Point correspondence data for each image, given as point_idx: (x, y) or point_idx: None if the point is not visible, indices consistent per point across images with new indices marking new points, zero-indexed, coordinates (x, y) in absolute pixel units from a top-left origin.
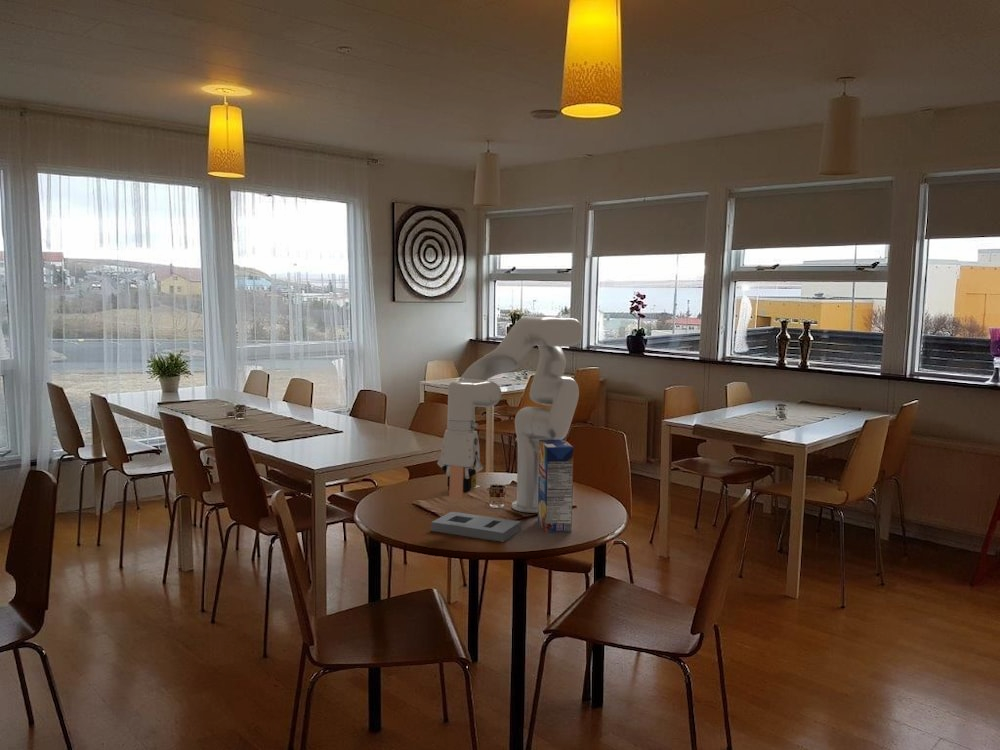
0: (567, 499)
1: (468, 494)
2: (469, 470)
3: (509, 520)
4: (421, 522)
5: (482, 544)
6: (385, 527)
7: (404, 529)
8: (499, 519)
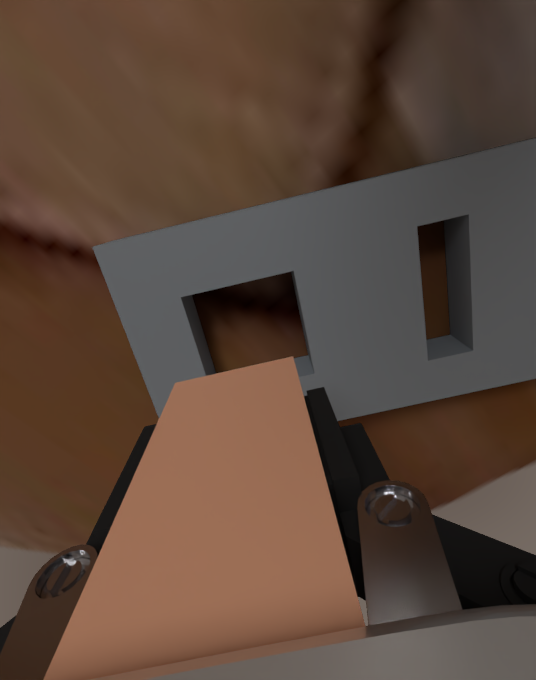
0: None
1: (294, 363)
2: (399, 602)
3: (503, 164)
4: (44, 371)
5: (466, 426)
6: (10, 506)
7: (86, 480)
8: (438, 188)
